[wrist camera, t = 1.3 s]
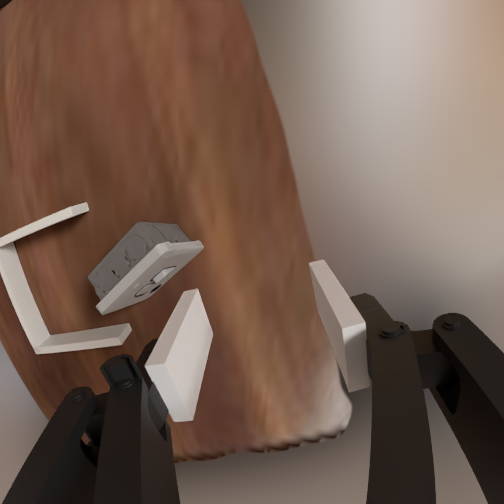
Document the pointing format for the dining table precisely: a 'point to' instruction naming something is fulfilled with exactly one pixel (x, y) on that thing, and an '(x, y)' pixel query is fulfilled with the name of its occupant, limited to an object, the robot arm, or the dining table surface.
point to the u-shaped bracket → (7, 263)
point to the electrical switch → (141, 264)
